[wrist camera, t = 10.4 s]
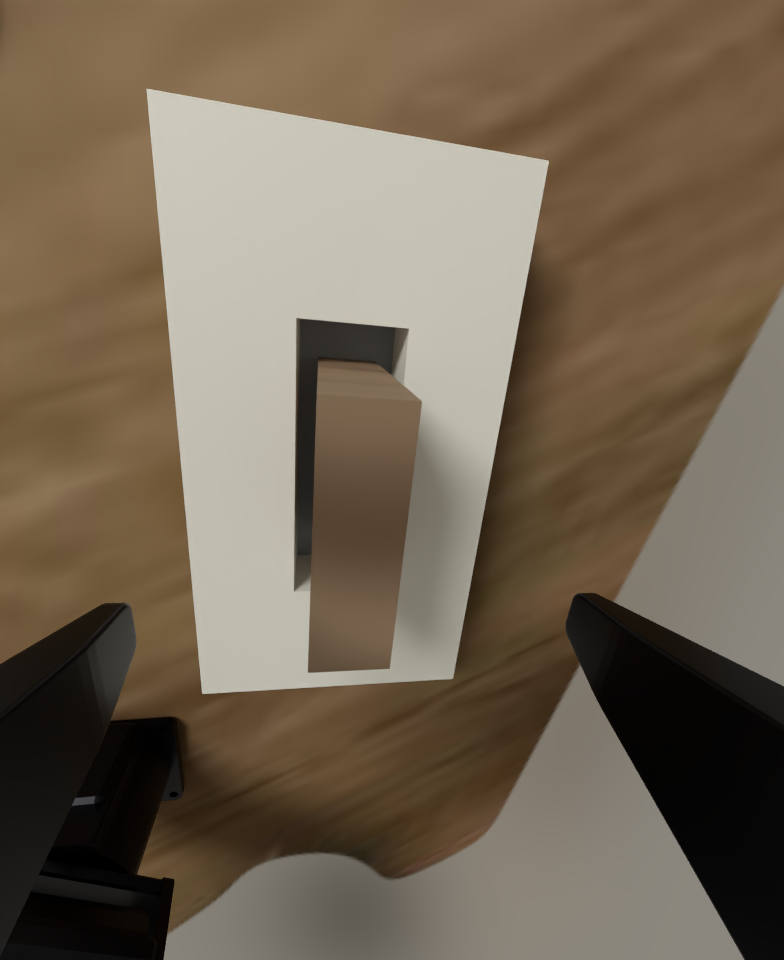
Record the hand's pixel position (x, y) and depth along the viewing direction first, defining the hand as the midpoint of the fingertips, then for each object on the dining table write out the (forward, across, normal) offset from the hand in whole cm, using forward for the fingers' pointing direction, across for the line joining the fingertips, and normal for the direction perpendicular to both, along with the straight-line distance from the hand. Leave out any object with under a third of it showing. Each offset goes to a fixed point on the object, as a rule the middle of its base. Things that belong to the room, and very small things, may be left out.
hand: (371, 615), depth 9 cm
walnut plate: (+12, 0, 0) cm, 12 cm away
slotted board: (+13, 0, 0) cm, 13 cm away
